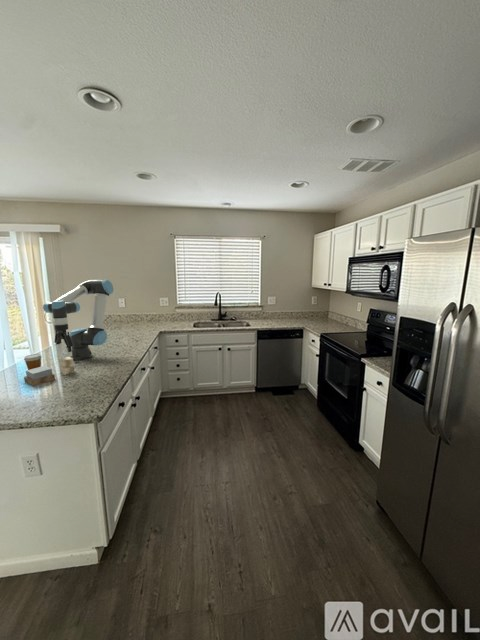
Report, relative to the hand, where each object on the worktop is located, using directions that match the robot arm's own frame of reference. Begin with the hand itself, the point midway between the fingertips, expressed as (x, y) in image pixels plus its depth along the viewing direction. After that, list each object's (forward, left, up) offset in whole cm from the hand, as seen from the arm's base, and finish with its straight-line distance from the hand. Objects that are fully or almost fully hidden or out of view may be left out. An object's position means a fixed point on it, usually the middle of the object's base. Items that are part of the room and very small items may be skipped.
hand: (64, 354), depth 176 cm
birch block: (0, 0, -13) cm, 13 cm away
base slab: (+16, 0, -13) cm, 21 cm away
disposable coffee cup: (+12, -19, -13) cm, 26 cm away
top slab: (+16, 0, -9) cm, 18 cm away
